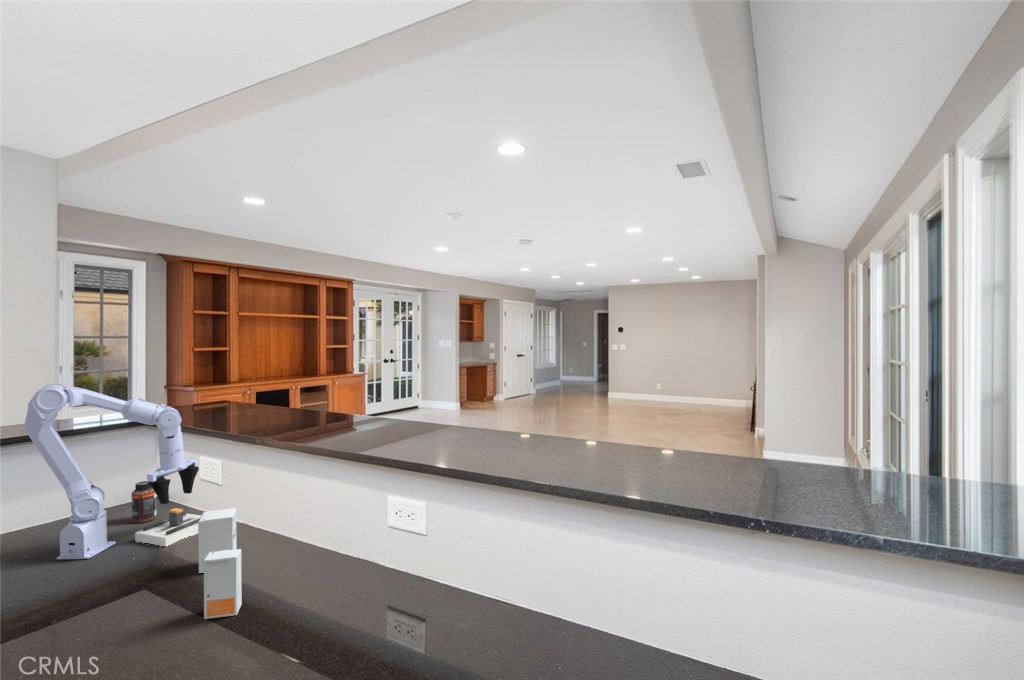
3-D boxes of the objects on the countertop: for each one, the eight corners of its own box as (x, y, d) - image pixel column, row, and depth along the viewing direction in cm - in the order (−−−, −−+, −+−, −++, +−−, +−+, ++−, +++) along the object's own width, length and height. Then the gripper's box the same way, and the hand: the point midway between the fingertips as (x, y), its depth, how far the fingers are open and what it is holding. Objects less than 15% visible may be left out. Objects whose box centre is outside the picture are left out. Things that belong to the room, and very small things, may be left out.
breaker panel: (165, 547, 134) (165, 534, 134) (135, 541, 138) (135, 529, 138) (214, 526, 149) (214, 514, 149) (186, 521, 152) (185, 510, 152)
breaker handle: (177, 525, 142) (177, 511, 142) (169, 524, 143) (168, 510, 143) (183, 523, 144) (183, 509, 144) (175, 522, 145) (175, 507, 144)
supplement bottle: (161, 516, 156) (160, 479, 156) (145, 524, 150) (144, 485, 150) (143, 515, 157) (142, 479, 157) (126, 523, 151) (126, 485, 151)
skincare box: (203, 620, 101) (202, 560, 100) (210, 609, 105) (208, 551, 105) (237, 615, 102) (236, 556, 102) (242, 604, 107) (241, 547, 106)
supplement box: (233, 569, 122) (232, 517, 122) (197, 575, 119) (196, 521, 119) (237, 556, 129) (236, 506, 129) (203, 561, 126) (203, 510, 126)
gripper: (159, 458, 135) (165, 508, 136) (204, 443, 149) (209, 489, 150) (138, 458, 137) (143, 507, 138) (184, 443, 151) (189, 488, 152)
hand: (176, 498), depth 144 cm, fingers open, 7 cm apart
